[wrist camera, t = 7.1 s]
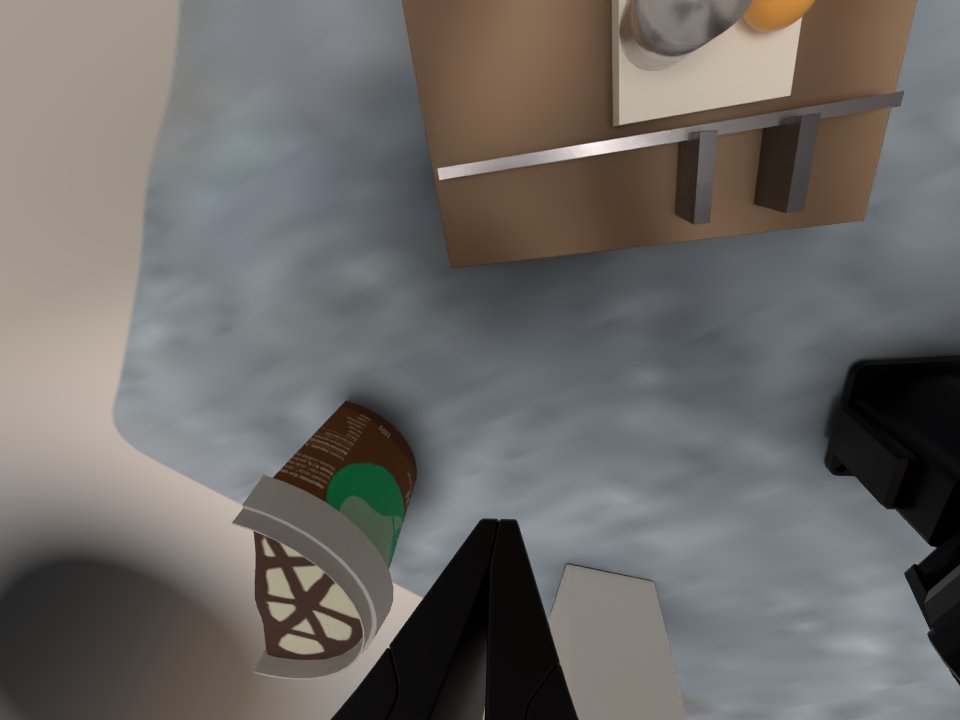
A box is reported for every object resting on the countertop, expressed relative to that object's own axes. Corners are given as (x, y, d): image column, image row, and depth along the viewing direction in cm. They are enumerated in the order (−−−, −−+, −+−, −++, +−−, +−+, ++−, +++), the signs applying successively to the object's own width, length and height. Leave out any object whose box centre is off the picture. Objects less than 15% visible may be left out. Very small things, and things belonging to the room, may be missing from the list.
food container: (422, 544, 30) (369, 710, 21) (340, 522, 30) (254, 677, 21) (447, 405, 24) (389, 555, 15) (346, 380, 24) (230, 513, 15)
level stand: (960, -348, 11) (1159, -588, 7) (839, 214, 17) (915, 232, 13) (385, -154, 14) (329, -254, 10) (457, 260, 20) (437, 284, 16)
